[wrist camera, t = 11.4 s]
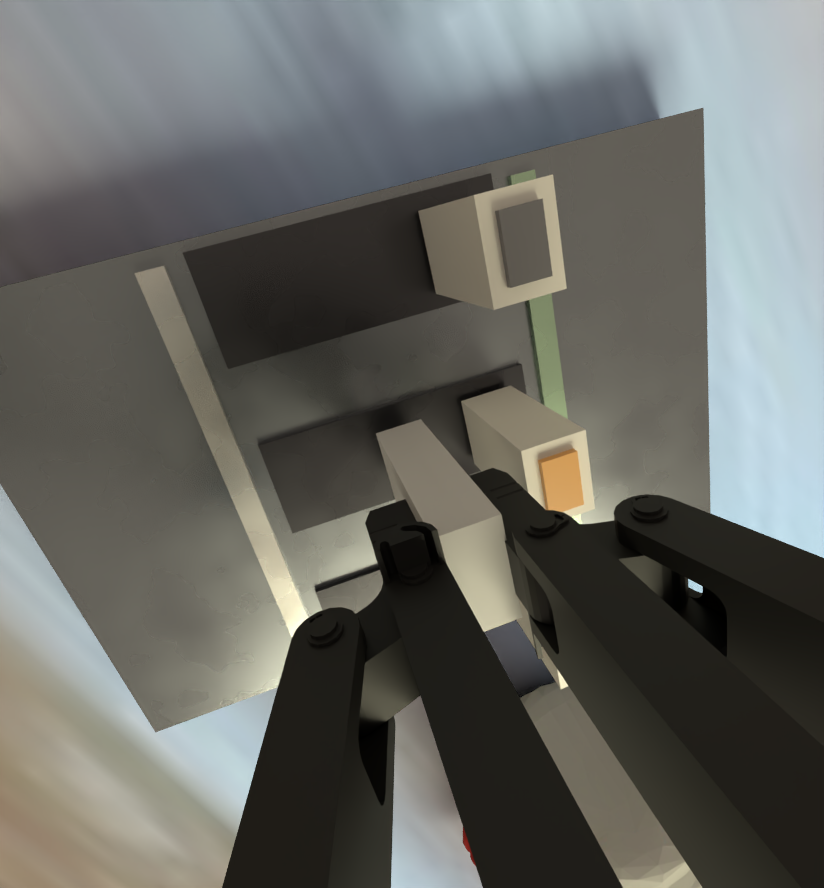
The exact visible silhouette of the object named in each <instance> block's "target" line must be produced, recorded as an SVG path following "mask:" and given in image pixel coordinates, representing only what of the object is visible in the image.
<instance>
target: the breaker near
mask: <svg viewBox="0 0 824 888" xmlns="http://www.w3.org/2000/svg"><path fill="white" fill-rule="evenodd" d="M418 213H419V217H420V222H421V226H422V231H423V236H424V240H425V245H426V249H427V254H428V259H429V263H430V268H431V273H432V277H433V282H434V286H435V291H436V294H439V295H442V296H446V297H449V298H453V299H456V300H460V301H464V302H467V303H471V304H474V305H478V306H482V307H485V308H489V309H492V310H496V309H499V308H502V307H506V306H509V305H513V304H516V303H519V302H523V301H526V300H530V299H533V298H536V297H540V296H543V295H547V294H550V293H554V292H557V291H560V290H564V289H567V287H566V279H565V270H564V262H563V254H562V245H561V237H560V229H559V220H558V212H557V204H556V195H555V187H554V178H553V174H552V175H549V176H545V177H541V178H537V179H533V180H530V181H526V182H522V183H518V184H514V185H510V186H507V187H503V188H499V189H495V190H491V191H488V192H484V193H480V194H476V195H472V196H469V197H465V198H462V199H458V200H455V201H451V202H448V203H444V204H441V205H437V206H434V207H430V208H427V209H423V210H420V211H418Z"/></svg>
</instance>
